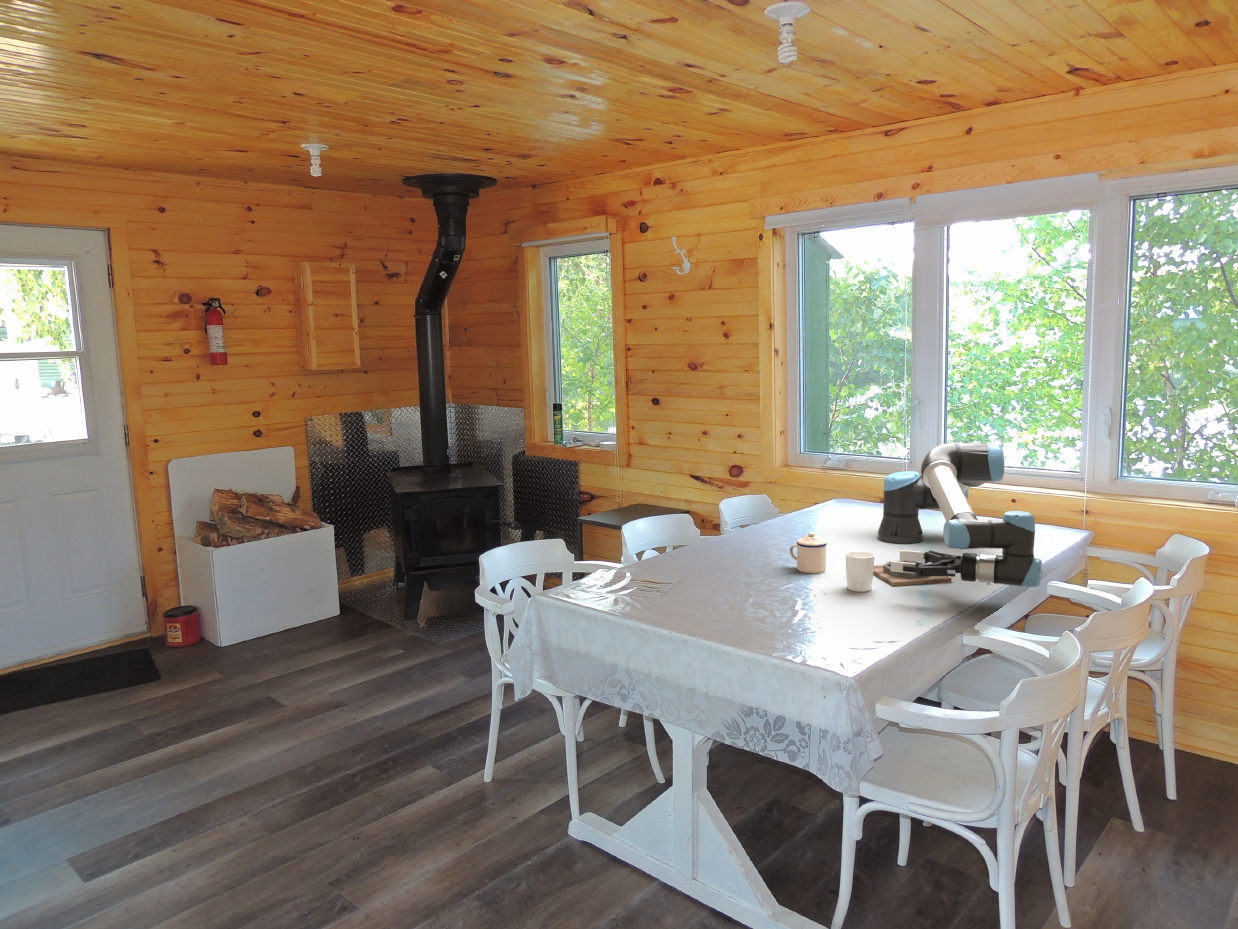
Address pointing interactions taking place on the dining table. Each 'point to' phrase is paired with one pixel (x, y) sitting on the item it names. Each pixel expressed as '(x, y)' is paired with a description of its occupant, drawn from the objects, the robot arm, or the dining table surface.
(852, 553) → the white cup
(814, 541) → the teacup with lid
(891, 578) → the ring holder
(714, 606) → the dining table surface
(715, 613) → the dining table surface
